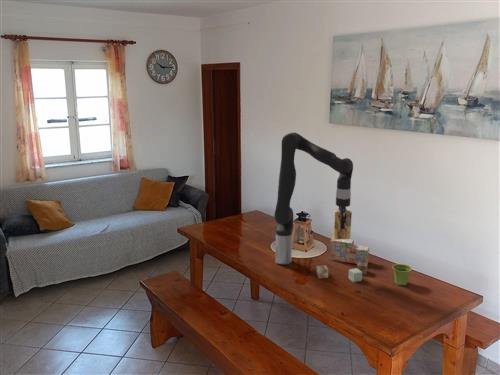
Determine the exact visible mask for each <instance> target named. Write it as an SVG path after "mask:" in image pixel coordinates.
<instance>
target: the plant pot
mask: <svg viewBox="0 0 500 375" xmlns="http://www.w3.org/2000/svg"><path fill="white" fill-rule="evenodd" d="M391 267H392V271H393V275H394V277H393V278H394V283H395V285H397V286H406V285H408V282H409V278H410V273H411V271H412V269H413V268H412V267H411V266H410V265H407V264H403V263H402V264H401V263H398V264H397V263H396V264H393V265H392V266H391Z"/></svg>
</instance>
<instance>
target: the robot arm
mask: <svg viewBox="0 0 500 375" xmlns="http://www.w3.org/2000/svg"><path fill="white" fill-rule="evenodd" d="M296 150H298V151H302V152H304V153H306V154H308V155H310V156H311V157H312V158H313V159H315V160H316V161H318V162H320V163H322V164H324V165H327V166H329V167H330V168H331V169H332V170H334V171H336V172H337V173H339V176H338V178H337V179H336V180H337V182H336V190H335V206H337V207H338V209H337V210H339V212H340V229H345V222H346V215H347V210H348V209H347V207H350V206H351V196H352V191H351V190H352V189H351V188H352V187H351V186H352V176H353V172H354V171H353V170H354V163H353V161H352V160H351V159H350V158H347V157H345V158H340V157H338V156H337V155H336V154H335V153H334V152H332V151H330V150H328V149H326V148H324V147H321V146H319V145H317V144H315V143H313V142H311V141H309V140H308V139H306V138H305V137H304V136H302V135H300V134H299V133H298V132H289V133H286V134H285V135H283V137H282V139H281V156H280V157H281V158H280V168H279V173H278V174H279V175H278V186H277V201H276V206H275V209H274V210H275V211H274V215H273V216H274V220H275V222H276V223H277V224H276V229H275V261H274V262H275V264H279V265H289V264H291V263H292V256H293V254H292V252H293V251H292V250H293V249H292V248H293V247H292V245H293V244H292V242H293V228H294V211H293V209H292V207H291V200H292V196H293V194H294V190H295V187H296V186H295V185H296V182H297V180H296V179H297V170H296V165H295V156H296V155H295V154H296ZM342 219H344V220H342Z"/></svg>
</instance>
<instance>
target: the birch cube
mask: <svg viewBox="0 0 500 375" xmlns="http://www.w3.org/2000/svg"><path fill="white" fill-rule="evenodd" d="M316 276H317V278H318V279H329V268H328V266H327V265H316Z"/></svg>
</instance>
